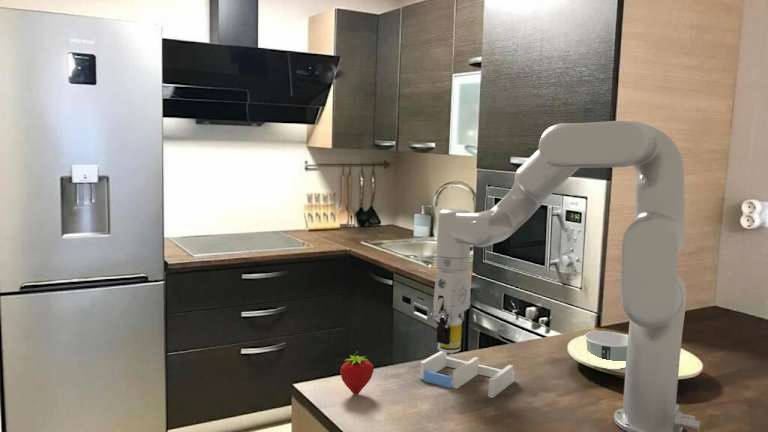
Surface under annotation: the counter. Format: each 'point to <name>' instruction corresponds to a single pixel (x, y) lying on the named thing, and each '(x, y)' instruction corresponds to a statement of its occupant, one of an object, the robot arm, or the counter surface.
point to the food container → (607, 345)
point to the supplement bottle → (453, 335)
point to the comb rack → (464, 372)
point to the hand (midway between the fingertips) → (449, 339)
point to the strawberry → (356, 373)
